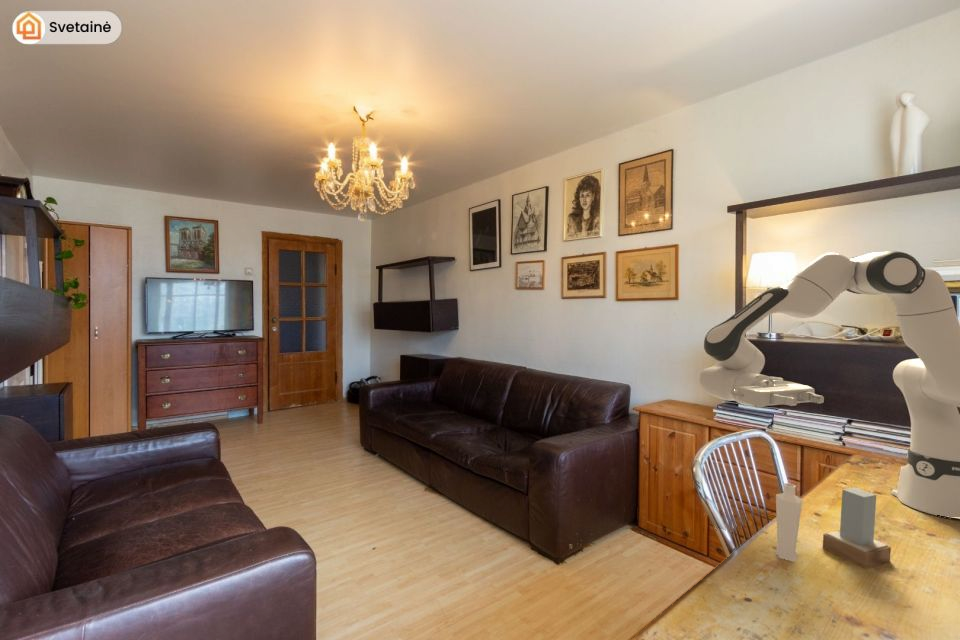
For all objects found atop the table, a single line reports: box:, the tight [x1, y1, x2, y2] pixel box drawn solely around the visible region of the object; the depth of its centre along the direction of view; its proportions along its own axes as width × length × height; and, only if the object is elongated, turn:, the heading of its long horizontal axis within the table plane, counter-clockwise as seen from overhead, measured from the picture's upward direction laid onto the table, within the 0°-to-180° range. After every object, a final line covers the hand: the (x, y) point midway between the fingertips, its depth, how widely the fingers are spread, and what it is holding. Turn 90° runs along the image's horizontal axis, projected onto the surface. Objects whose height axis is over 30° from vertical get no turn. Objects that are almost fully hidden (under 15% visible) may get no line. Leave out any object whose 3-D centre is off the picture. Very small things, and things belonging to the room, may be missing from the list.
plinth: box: [822, 529, 892, 569], centre depth 95 cm, size 8×8×3 cm
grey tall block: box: [839, 486, 877, 545], centre depth 95 cm, size 4×4×10 cm
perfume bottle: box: [774, 482, 803, 563], centre depth 93 cm, size 5×4×15 cm
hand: (808, 401), depth 107 cm, fingers open, 8 cm apart
